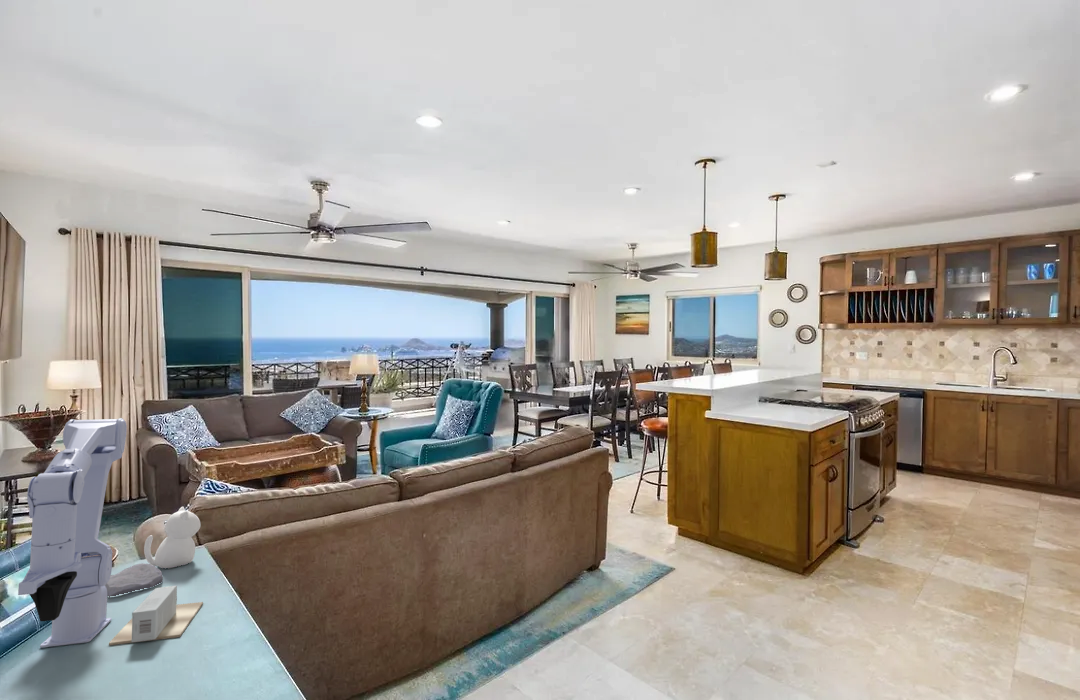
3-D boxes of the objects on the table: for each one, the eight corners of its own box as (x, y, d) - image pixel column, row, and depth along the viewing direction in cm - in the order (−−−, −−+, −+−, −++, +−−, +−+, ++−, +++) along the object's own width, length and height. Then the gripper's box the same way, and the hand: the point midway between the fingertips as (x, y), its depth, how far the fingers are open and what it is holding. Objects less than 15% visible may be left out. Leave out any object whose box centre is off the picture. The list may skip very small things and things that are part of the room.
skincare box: (129, 643, 102) (154, 615, 113) (155, 639, 103) (177, 612, 114) (131, 611, 102) (155, 587, 113) (156, 608, 103) (178, 585, 114)
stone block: (167, 589, 131) (144, 574, 135) (169, 572, 130) (146, 557, 135) (111, 611, 120) (89, 594, 124) (114, 592, 120) (91, 575, 124)
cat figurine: (201, 564, 142) (204, 509, 143) (144, 576, 134) (148, 517, 134) (195, 555, 149) (198, 503, 150) (140, 565, 140) (144, 509, 141)
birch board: (141, 610, 116) (141, 608, 116) (202, 604, 119) (203, 601, 119) (108, 645, 102) (108, 642, 102) (179, 637, 105) (180, 634, 105)
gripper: (58, 553, 86) (53, 636, 85) (101, 526, 99) (98, 598, 99) (3, 557, 83) (-1, 642, 83) (56, 529, 97) (52, 602, 97)
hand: (49, 619), depth 91 cm, fingers closed
